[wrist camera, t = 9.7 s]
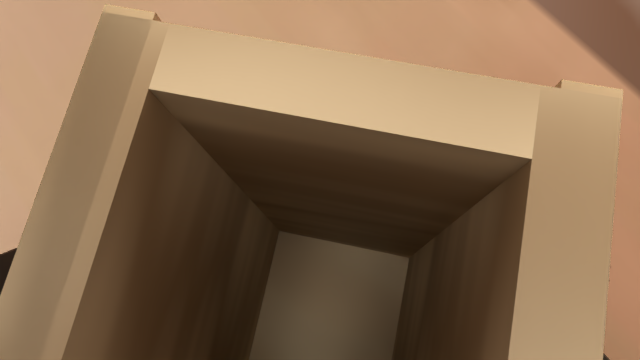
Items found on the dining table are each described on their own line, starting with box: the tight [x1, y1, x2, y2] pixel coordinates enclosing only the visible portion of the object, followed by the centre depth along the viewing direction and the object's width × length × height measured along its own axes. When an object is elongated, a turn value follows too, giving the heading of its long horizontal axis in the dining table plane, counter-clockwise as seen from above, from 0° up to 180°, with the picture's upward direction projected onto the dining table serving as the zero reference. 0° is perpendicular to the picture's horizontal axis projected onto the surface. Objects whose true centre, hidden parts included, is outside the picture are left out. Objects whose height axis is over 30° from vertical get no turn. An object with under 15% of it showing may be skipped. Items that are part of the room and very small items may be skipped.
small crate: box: [0, 4, 623, 360], centre depth 10 cm, size 6×6×11 cm
